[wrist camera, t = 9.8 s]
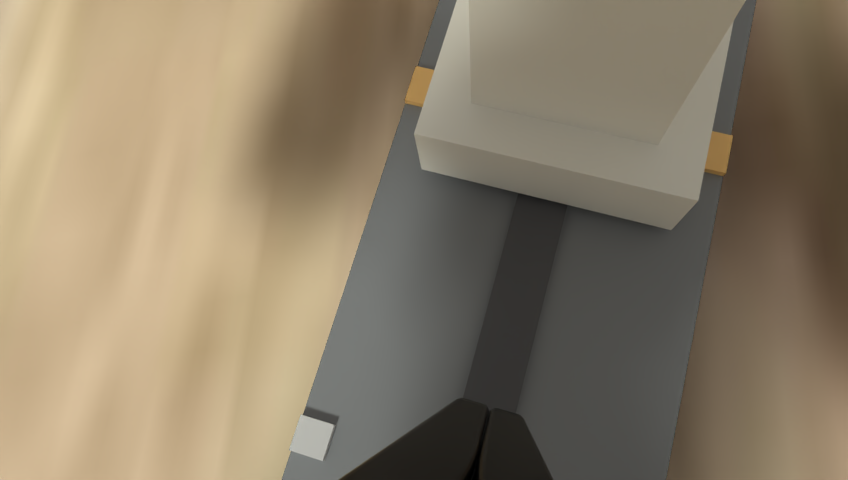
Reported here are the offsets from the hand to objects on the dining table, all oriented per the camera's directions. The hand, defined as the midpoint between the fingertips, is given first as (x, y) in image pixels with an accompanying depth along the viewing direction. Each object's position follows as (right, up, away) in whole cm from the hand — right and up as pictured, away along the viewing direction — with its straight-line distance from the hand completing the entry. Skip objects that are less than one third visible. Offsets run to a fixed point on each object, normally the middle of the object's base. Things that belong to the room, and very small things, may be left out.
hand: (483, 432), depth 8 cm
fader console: (+2, +1, +9) cm, 9 cm away
